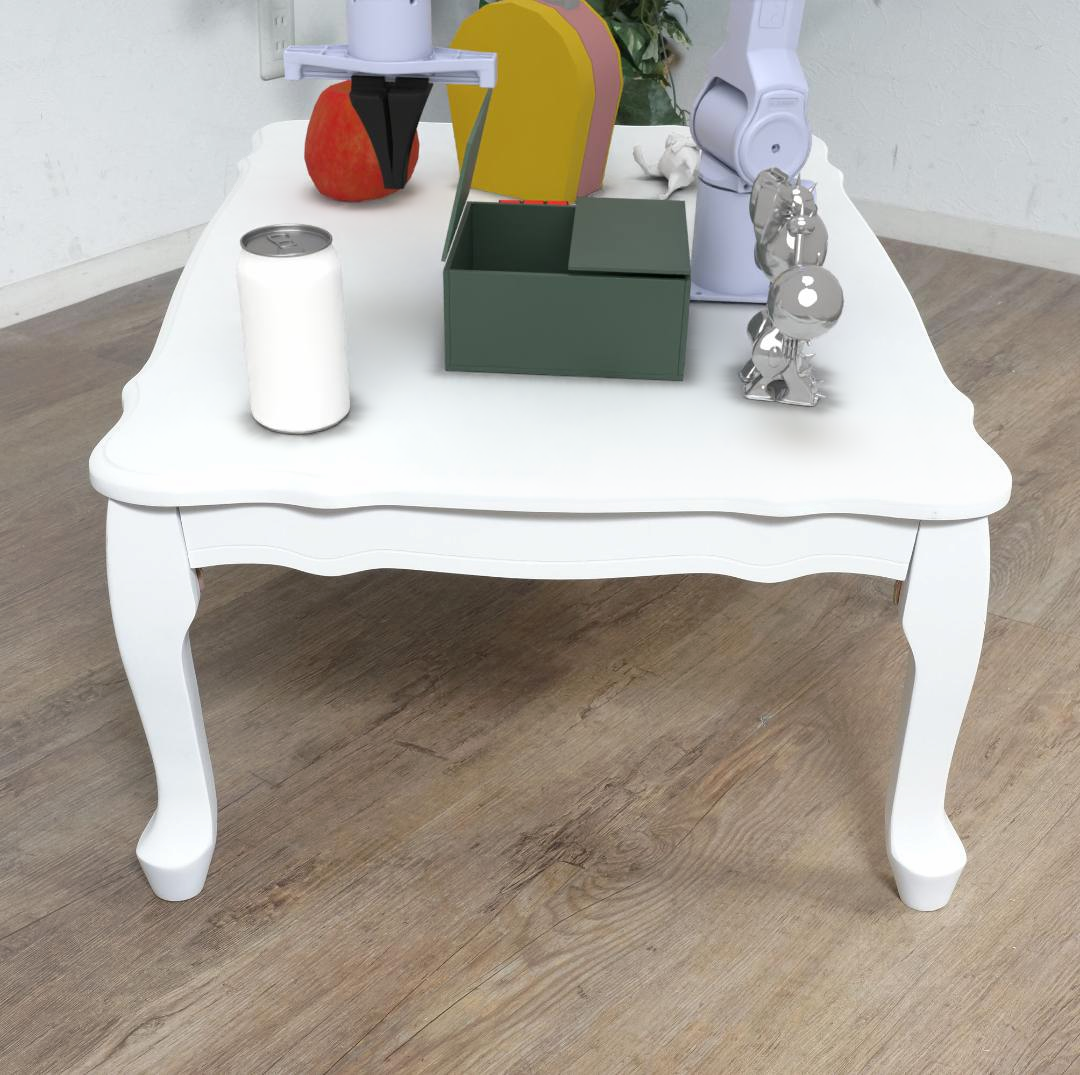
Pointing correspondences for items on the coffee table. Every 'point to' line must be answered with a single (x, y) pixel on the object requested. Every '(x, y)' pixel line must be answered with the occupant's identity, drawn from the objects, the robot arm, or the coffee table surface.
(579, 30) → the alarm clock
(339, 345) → the can
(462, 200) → the green box lid
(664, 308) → the storage box
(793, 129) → the robot arm
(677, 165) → the figurine
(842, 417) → the coffee table surface
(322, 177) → the apple
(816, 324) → the robot toy
